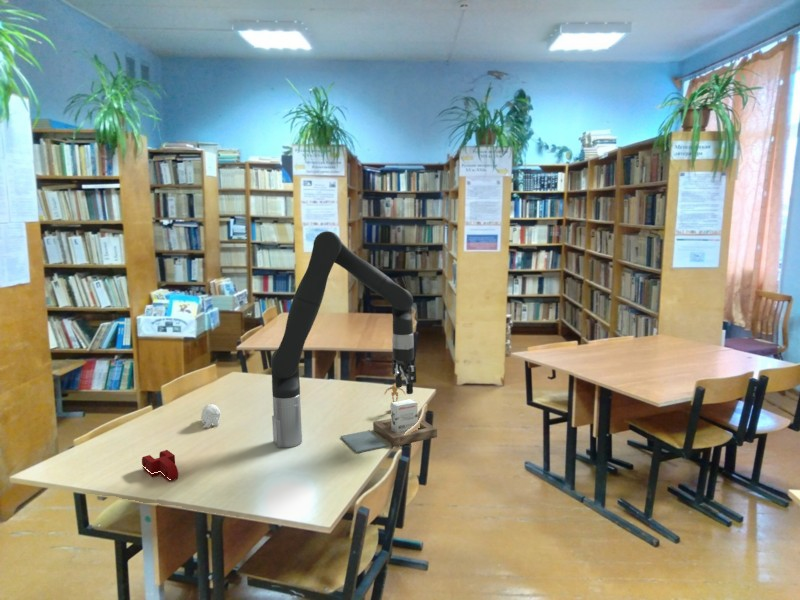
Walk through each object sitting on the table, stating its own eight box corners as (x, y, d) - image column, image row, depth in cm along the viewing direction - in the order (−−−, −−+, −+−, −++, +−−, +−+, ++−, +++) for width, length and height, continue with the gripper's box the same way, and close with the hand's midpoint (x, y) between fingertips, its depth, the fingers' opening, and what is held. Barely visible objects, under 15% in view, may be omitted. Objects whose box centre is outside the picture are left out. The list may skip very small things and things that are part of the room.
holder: (393, 446, 183) (393, 438, 182) (373, 429, 198) (373, 422, 197) (437, 437, 190) (437, 429, 190) (414, 421, 205) (414, 414, 205)
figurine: (405, 409, 219) (405, 380, 218) (405, 414, 214) (405, 384, 212) (385, 409, 220) (384, 380, 218) (384, 414, 214) (383, 384, 212)
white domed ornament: (202, 407, 199) (196, 401, 209) (204, 430, 199) (197, 423, 209) (220, 404, 202) (212, 398, 212) (222, 426, 203) (214, 420, 213)
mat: (356, 453, 178) (356, 451, 178) (340, 437, 191) (340, 435, 191) (386, 446, 183) (386, 445, 183) (369, 431, 196) (369, 430, 196)
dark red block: (142, 470, 169) (141, 454, 168) (165, 462, 174) (164, 447, 173) (162, 487, 157) (161, 470, 157) (186, 478, 162) (185, 463, 162)
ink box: (412, 429, 198) (411, 398, 196) (418, 433, 194) (418, 402, 192) (390, 433, 194) (390, 401, 193) (396, 438, 190) (396, 405, 188)
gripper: (384, 343, 194) (386, 386, 197) (402, 351, 182) (403, 397, 184) (403, 340, 197) (404, 383, 200) (422, 348, 185) (423, 394, 187)
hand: (404, 390), depth 192 cm, fingers open, 8 cm apart
